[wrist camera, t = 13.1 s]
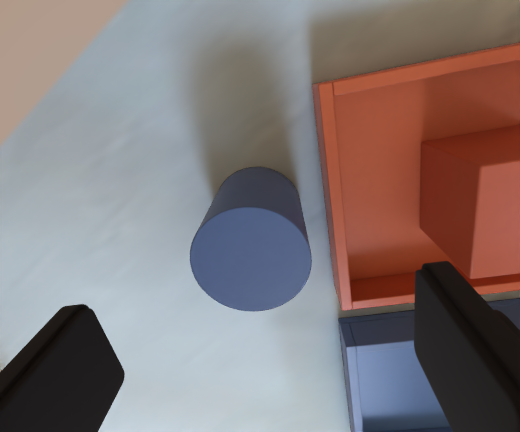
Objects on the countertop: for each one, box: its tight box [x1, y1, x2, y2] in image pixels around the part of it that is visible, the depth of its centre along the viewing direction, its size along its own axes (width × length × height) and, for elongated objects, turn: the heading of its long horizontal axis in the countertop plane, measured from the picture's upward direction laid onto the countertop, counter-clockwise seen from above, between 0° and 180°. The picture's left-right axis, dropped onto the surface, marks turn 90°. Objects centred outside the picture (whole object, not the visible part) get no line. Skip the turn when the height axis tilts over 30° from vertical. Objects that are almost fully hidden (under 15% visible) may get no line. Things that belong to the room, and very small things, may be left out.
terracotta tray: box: [312, 42, 520, 311], centre depth 16 cm, size 16×12×2 cm
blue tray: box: [338, 298, 520, 432], centre depth 21 cm, size 16×12×2 cm
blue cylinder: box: [190, 167, 312, 311], centre depth 15 cm, size 5×5×6 cm
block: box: [420, 125, 520, 279], centre depth 14 cm, size 5×5×5 cm
